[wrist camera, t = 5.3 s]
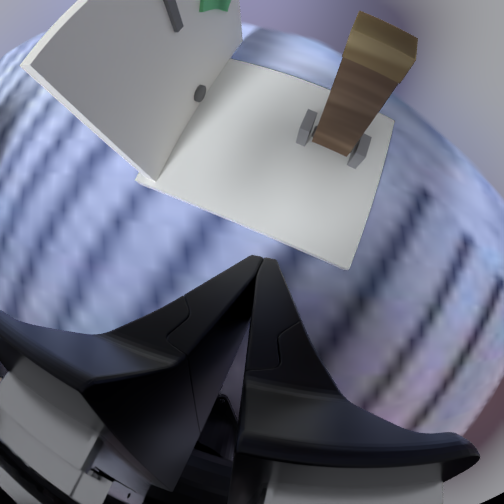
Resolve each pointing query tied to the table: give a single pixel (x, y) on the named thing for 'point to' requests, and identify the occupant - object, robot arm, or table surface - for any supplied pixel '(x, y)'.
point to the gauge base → (211, 120)
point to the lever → (364, 81)
